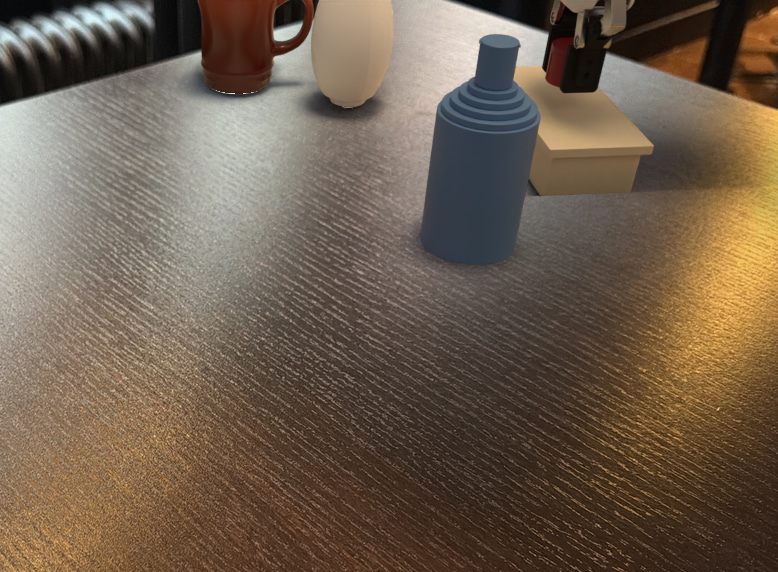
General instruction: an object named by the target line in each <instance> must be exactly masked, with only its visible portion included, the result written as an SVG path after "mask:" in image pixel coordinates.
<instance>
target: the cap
mask: <svg viewBox="0 0 778 572" xmlns="http://www.w3.org/2000/svg"><path fill="white" fill-rule="evenodd" d="M568 45H574V37H563V38H558V39H555V40H554V41H553V42H552V46H551V51H550V56H549V61H548V66H547V71H546V76H545V79H546V81H547V82H548V83H549V84H551V85H553V86H556V87H560V82H561V78H562V73H563V68H564V64H565V59H566V54H567V50H568Z"/></svg>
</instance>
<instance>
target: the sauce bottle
mask: <svg viewBox="0 0 778 572" xmlns="http://www.w3.org/2000/svg"><path fill="white" fill-rule="evenodd" d="M392 4H393V3H392V0H318V3H317V5H316V9H315V12H314V16H313V22H312V27H311V35H310V36H311V37H310V55H311V64H312V71H313V73H314V78H315V80H316V83H317V86H318V88H319V89H320V91H321V93H322V94H323V96H325V97H326V98H328V99H329V101H330V102H331V103H332V104H334V105H336V106H338V107H339V106H344V107H355V108H356V107H360V106H362V105H364V103H365V102H366V101H367V100H369V99H371V98H372V97H373V96H375V94H376V93H377V91H378V90H379V88H380V86H381V85H382V83H383V81H384V80H385V78H386V75H387V72H388V70H389V66H390V62H391V58H392V53H393V46H394V36H395V35H394V33H395V28H394V27H395V23H394V21H395V20H394V11H393V5H392Z"/></svg>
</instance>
